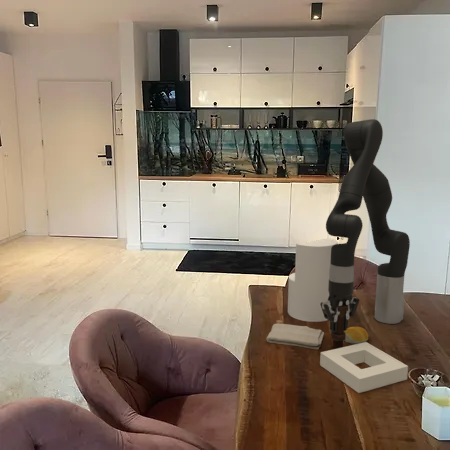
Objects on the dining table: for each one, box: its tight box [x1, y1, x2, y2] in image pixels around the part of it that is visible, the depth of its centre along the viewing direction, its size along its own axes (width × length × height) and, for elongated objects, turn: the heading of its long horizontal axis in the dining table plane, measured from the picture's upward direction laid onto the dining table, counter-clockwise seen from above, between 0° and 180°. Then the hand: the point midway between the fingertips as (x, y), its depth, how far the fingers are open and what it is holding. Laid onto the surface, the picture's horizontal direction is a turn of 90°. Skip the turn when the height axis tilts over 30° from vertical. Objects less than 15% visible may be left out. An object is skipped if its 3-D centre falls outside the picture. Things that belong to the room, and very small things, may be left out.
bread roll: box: [343, 326, 369, 345], centre depth 159 cm, size 8×9×4 cm
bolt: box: [330, 305, 349, 350], centre depth 150 cm, size 6×5×15 cm
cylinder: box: [287, 237, 339, 323], centre depth 179 cm, size 17×17×28 cm
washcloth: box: [265, 323, 325, 350], centre depth 159 cm, size 12×18×3 cm, turn 73°
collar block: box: [319, 341, 409, 394], centre depth 137 cm, size 17×17×4 cm
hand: (338, 330), depth 151 cm, fingers closed on bolt, 3 cm apart
